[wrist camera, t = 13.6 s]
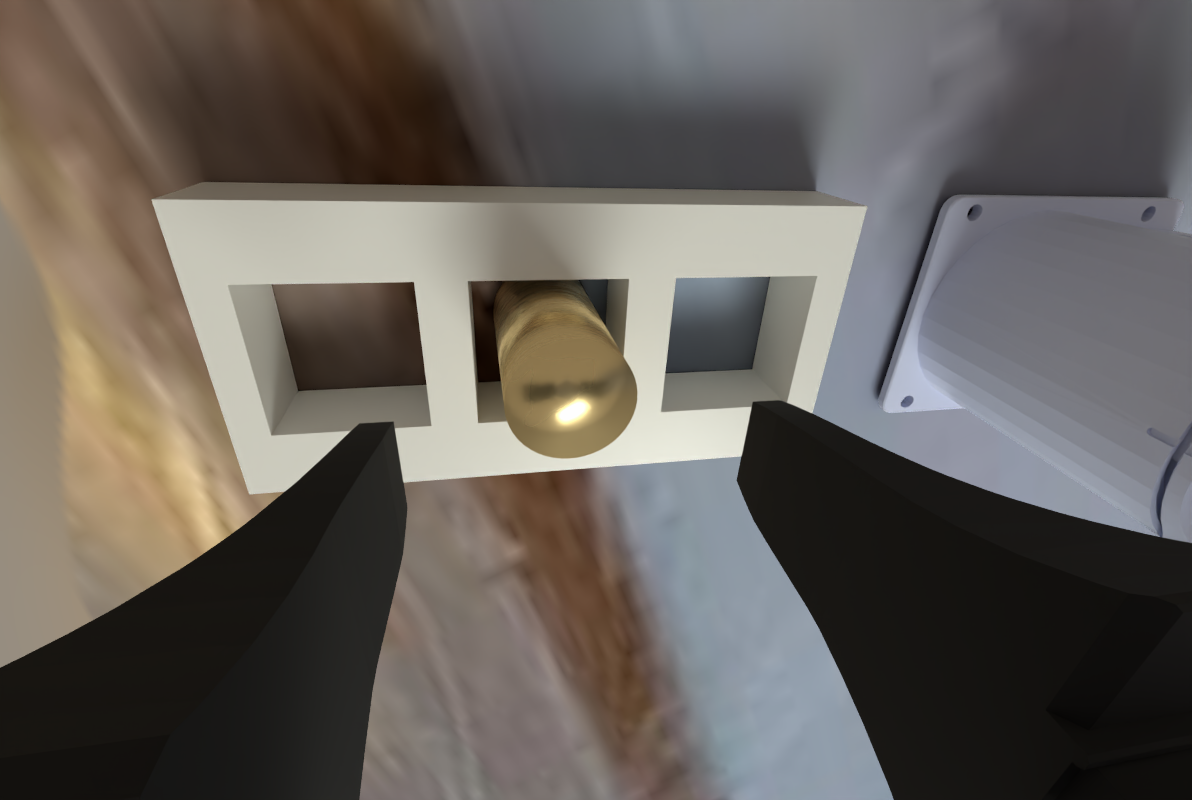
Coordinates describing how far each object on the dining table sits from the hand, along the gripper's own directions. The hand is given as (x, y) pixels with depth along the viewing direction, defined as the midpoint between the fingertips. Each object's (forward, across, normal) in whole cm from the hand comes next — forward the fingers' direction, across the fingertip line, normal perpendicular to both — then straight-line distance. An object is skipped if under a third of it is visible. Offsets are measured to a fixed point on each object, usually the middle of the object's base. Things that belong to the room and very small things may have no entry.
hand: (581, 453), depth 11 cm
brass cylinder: (+8, 0, 0) cm, 8 cm away
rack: (+8, 0, 0) cm, 8 cm away
